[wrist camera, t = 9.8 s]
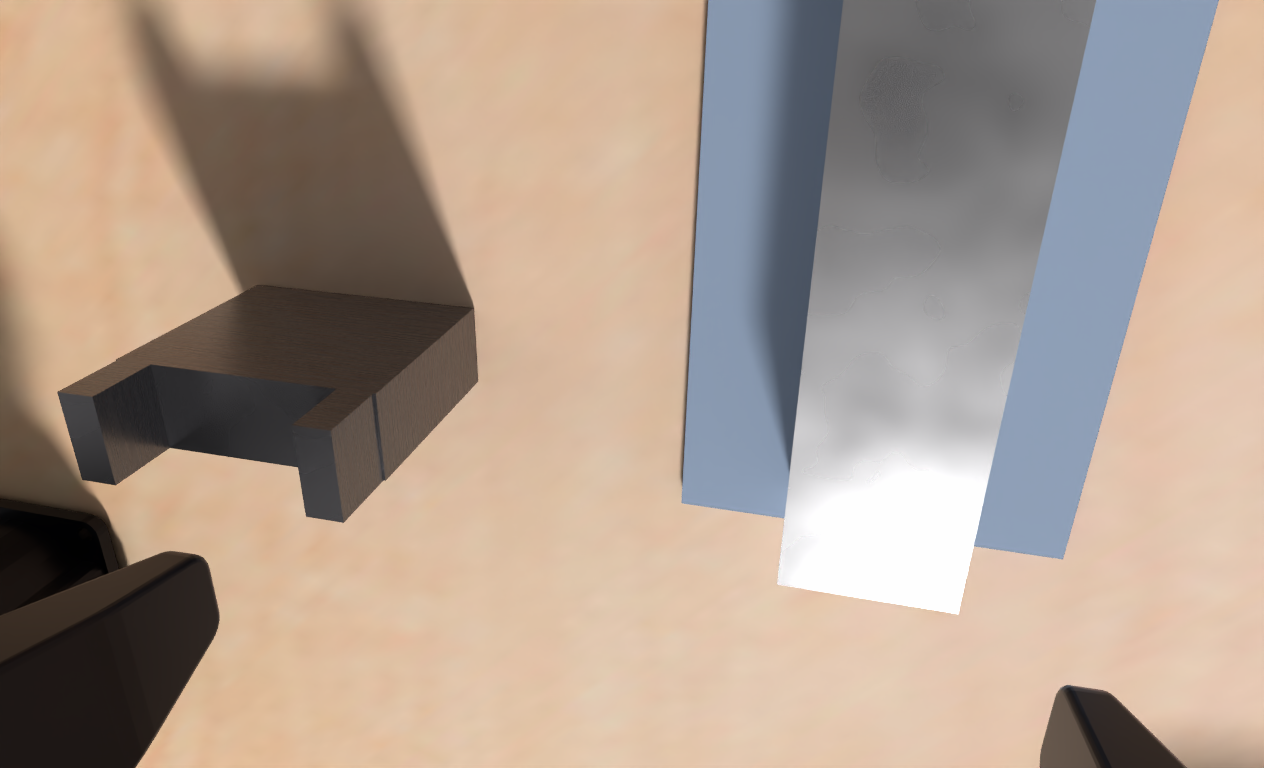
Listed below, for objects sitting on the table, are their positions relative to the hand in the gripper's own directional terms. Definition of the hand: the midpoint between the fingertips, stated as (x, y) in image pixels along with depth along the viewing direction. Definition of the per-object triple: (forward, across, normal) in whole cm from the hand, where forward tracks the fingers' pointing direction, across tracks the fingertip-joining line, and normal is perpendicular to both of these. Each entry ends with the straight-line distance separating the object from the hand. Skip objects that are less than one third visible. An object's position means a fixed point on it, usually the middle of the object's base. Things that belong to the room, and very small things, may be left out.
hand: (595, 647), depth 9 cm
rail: (+12, -4, -5) cm, 13 cm away
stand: (+13, +9, +2) cm, 16 cm away
